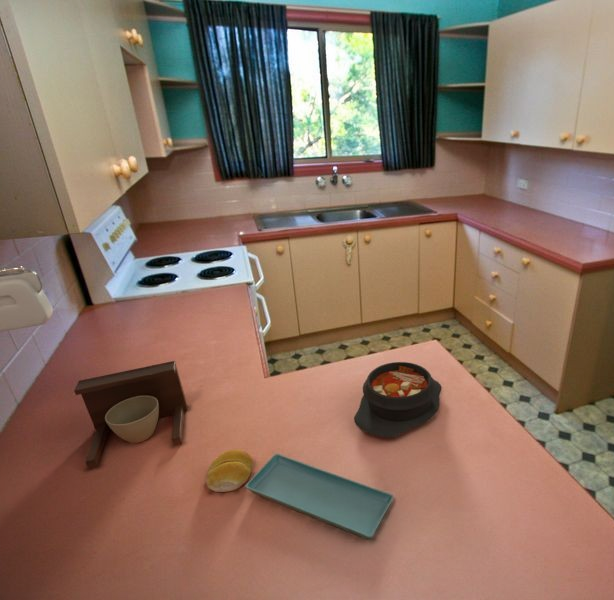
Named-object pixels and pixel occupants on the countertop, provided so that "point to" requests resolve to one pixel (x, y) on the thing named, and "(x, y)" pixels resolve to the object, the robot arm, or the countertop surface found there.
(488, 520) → the countertop surface
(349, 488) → the rectangular tray
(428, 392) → the casserole
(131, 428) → the beige bowl
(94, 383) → the cup rack
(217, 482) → the bread roll
